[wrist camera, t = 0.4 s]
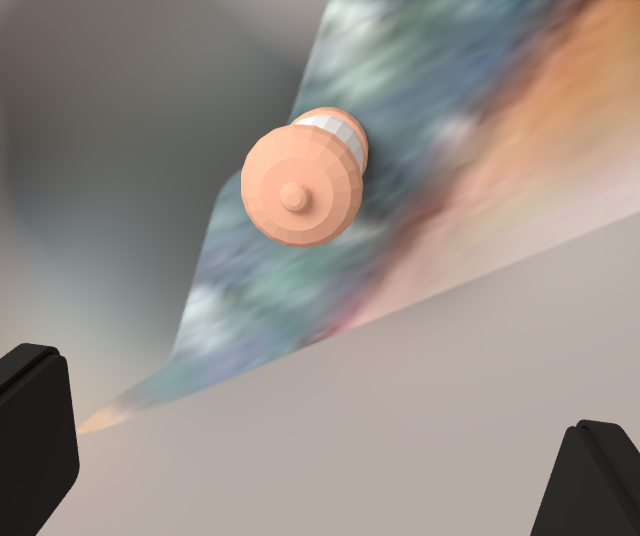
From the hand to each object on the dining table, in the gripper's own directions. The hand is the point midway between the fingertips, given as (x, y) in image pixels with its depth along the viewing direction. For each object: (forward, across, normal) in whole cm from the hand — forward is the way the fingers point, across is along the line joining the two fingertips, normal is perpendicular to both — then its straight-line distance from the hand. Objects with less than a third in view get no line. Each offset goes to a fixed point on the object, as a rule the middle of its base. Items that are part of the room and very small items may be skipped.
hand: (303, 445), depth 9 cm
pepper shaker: (+37, +3, 0) cm, 37 cm away
